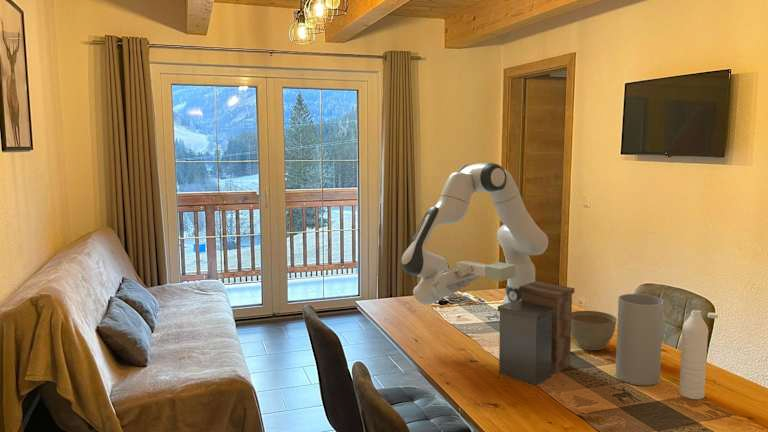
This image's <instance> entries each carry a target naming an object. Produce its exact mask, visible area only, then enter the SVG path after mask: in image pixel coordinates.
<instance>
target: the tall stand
mask: <svg viewBox="0 0 768 432" xmlns="http://www.w3.org/2000/svg"><path fill="white" fill-rule="evenodd" d="M519 291H521V301H523V302H528V303H532V304H537V305H541V306H546V307H550V308H555V313H554V314H552V349H551V374H555V375H556V374H558V373H560V372H562V371H564V370H566V369H567V368H569V367H570V366H571V345H572V344H571V343H572V333H571V313H572V312H573V311H572V308H573V307H572V306H573V294H574V293H575V287H569V286H564V285H559V284H553V283H548V282H543V281H538V280H537V281H536V280H535V282H532V283H529V284H526V285H523V286H520V287H519Z"/></svg>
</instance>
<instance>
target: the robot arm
mask: <svg viewBox="0 0 768 432" xmlns="http://www.w3.org/2000/svg"><path fill="white" fill-rule="evenodd" d="M486 192H488V193H489V195H490V196H489V197H490V198H491V201H492V204H493V206H494V207H493V208H494V210H495V212H496V214H497V217H498V219H499V220H500V222H501V223H503V224H502V225H501V226H500V227H499V228H498V230H497V232H496V239H497V242H498V243H499V245H500V247H501V248H502V250H503V251H502V252H503V255H504V258H505V259H504V260H505V263H508V264H514V265H515V277H513V278H510V279H507V282H506V283H507V284H506V285H505V294H506V295H504V298H503V304H506V303H508V302H511V301H514V300H519V301H521V291H519V287H520V286H523V285H526V284H529V283H532V282H535V281H536V266H535V265H534V263H533V262H532V260H531V257H530V256H539V255H542V254H544V253H545V251H546V250H547V249H548V247H549V238H548V235H547V233H545V232H544V231H543V230H542V229H541V228H540V227H539V226H538V225H537V223H536V222H535V221H534V219H533V218H532V216H531V215H530V213H529V211H528V210H527V208H526V205H525V203H524V201H523V198H522V195H521V193H520V190H519V188H518V185H517V184H516V181H515V179H514V178H513V175H512V174H511V173H510V171H508V170H506V169H504V168H503V167H502V166H501V165H499V164H497V163H494V162H490V163H487V162H478V163H473V164H466V165H463V166H461V167H460V168H459V169H458V170H457V171H454V172H452V173H451V174H450V175H449V176H448V178H447V180H446V181H445V183H444V185H443V188H442V191H441V194H440V197H439V199H438V201H437V203H436V204H435V205H434V206H432V207H429V208H428V209H427V211H426V212H425V213H424V216H423V217H422V219H421V220H420V223H419V225H418V227H417V229H416V230H415V232H414V235H413V237H412V239H411V240H410V243H408V244H409V245H407V247H406V248H405V249H404V252H402V255H401V259H400V263H401V266H402V270H403V271H404V272H405V273H406V274H408V275H412V276H417V277H418V278H419V277H420V281H419V282H418V284H417V285H416V286H415V287H414V288H413V290H412V295H413V297H414V299H415V300H416V302H418V303H419V304H422V305H424V306H425V305H432V304H434V303H437V302H439V301H441V300H442V299H444V298H447V297H449V296H452V295H454V294H455V293H457V292H459V291H460V290H462V289H463V288H465V287H468V286H469V285H471V282H473V281H475V280H476V279H478V278H480V277H481V276H480V275H475V274H470V273H471V272H473V271H474V270H473V267H472V266H470V267H467V268H465V269H458V270H457V268H452V267H451V268H450V264H449V262H448V260H447V258H445V257H443V256H441V255H439V254H436V253H432V252H430V251H428V250H426V249H425V247H426V246H427V243H428V241H429V239H430V237H431V235H432V233H433V231H434V229H435V228H436V227H438V226H441V225H452V224H457V223H459V222H461V221H462V220H463V219H464V218H465V217H466V214H467V213H468V209H469V206H470V201H471V198H472V195H473V193H486Z"/></svg>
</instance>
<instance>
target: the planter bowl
mask: <svg viewBox="0 0 768 432" xmlns="http://www.w3.org/2000/svg"><path fill="white" fill-rule="evenodd" d="M617 322H618V318H617V317H616V316H614V315H612V314H610V313H607V312H604V311H596V310H576V311H572V313H571V336H573V337H572V338H573V339H574V340H575V341H576V344H577V345H576V346H578V347H579V348H581V349H583V350H587V351H588V350H589V351H601V350H604V349H606V347H607V344H609V342H610V341H611V339H612V338H613V336H614V333H615V330H616V323H617Z"/></svg>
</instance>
